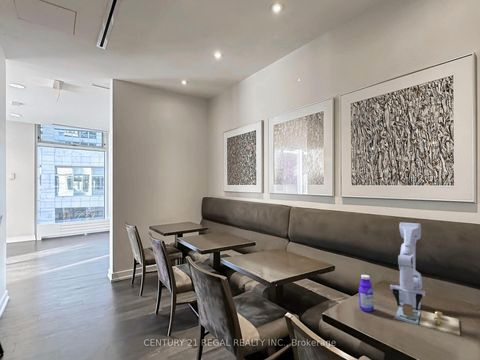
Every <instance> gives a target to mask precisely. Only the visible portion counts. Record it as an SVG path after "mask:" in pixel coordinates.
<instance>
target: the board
mask: <svg viewBox="0 0 480 360" xmlns="http://www.w3.org/2000/svg"><path fill="white" fill-rule="evenodd" d="M435 317H436V318H437V315H436V314H435V312H434V313H433V312H429V311H424V310H421V312H420V318H419V323H418V326H420V327H424V328H428V329H431V330H435V331H439V332H440V331H441V332H442V333H443V332H444V333H448V334H451V335H455V336H461V331H460V319H459V318H455V317H450V316H446V315H443V314H442V315H440V319H442V322H440V326H439V325H436V321H435V320H434V318H435Z"/></svg>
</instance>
